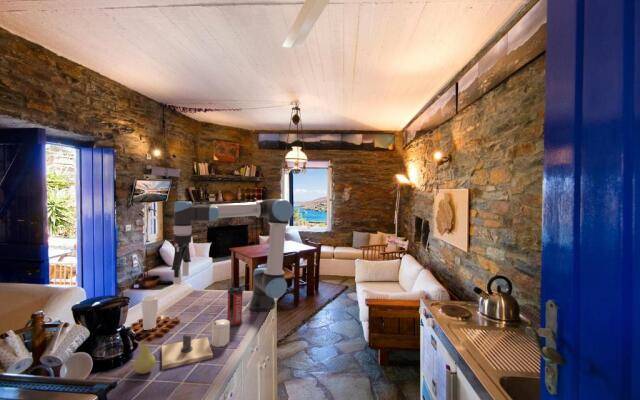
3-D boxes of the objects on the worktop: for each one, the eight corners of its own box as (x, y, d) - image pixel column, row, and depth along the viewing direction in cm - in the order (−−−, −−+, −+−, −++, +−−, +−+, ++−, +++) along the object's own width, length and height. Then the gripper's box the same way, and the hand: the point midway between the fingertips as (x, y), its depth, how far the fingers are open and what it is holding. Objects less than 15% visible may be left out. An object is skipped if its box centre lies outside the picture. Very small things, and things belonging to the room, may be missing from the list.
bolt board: (206, 340, 131) (207, 323, 131) (212, 358, 117) (213, 339, 117) (161, 349, 122) (162, 331, 122) (162, 369, 108) (162, 349, 108)
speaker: (237, 319, 154) (238, 285, 154) (245, 324, 149) (246, 289, 149) (223, 323, 149) (225, 288, 149) (231, 328, 143) (232, 292, 143)
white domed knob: (227, 337, 134) (227, 316, 134) (230, 344, 128) (231, 322, 128) (210, 341, 131) (211, 319, 130) (213, 348, 124) (214, 325, 124)
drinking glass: (159, 329, 140) (160, 298, 140) (143, 333, 135) (144, 301, 135) (154, 324, 145) (155, 294, 145) (139, 328, 140) (140, 297, 140)
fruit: (149, 378, 103) (150, 344, 103) (127, 378, 103) (128, 344, 103) (158, 367, 110) (159, 335, 110) (137, 367, 109) (138, 335, 109)
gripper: (181, 231, 147) (180, 272, 147) (164, 238, 122) (163, 288, 122) (197, 231, 148) (196, 272, 148) (183, 238, 123) (182, 288, 124)
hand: (181, 279), depth 135 cm, fingers open, 13 cm apart
